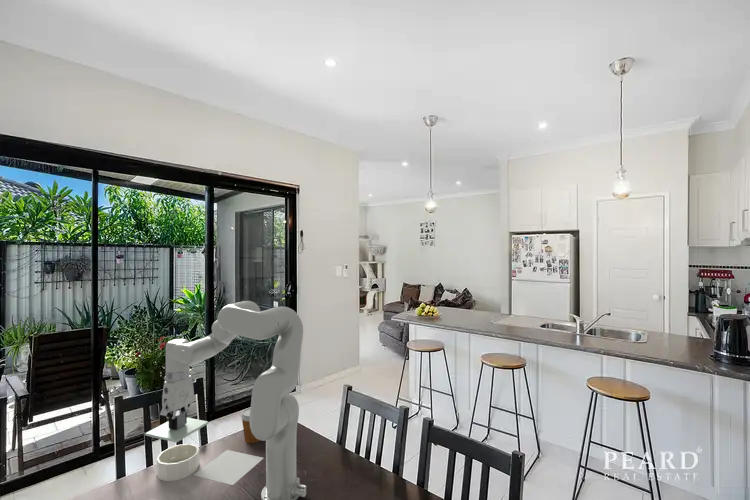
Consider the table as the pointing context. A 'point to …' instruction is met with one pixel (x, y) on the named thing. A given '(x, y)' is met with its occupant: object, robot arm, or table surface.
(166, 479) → the bowl
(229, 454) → the mat
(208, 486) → the table surface
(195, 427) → the lid
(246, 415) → the disposable coffee cup
